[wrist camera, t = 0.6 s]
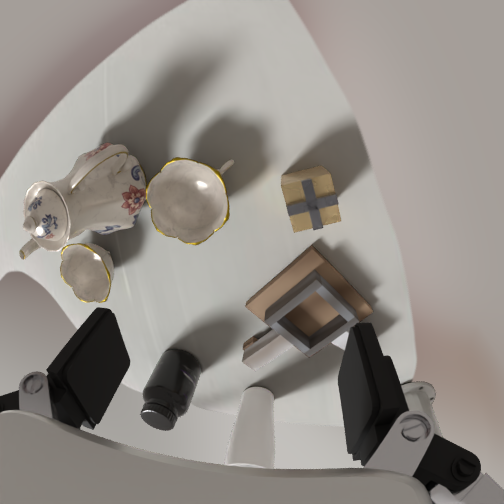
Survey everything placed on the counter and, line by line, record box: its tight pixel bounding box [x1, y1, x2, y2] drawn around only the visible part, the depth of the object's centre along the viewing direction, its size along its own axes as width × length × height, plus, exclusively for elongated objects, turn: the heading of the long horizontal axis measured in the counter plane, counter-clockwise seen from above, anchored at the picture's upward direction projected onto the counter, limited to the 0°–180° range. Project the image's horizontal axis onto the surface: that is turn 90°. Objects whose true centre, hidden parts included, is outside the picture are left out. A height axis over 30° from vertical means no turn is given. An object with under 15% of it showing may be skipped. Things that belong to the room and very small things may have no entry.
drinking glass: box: [224, 387, 275, 469], centre depth 37 cm, size 7×7×15 cm
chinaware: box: [19, 143, 234, 303], centre depth 27 cm, size 28×17×17 cm, turn 127°
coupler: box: [281, 166, 341, 233], centre depth 28 cm, size 4×4×7 cm
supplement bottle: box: [140, 349, 201, 431], centre depth 38 cm, size 7×7×12 cm
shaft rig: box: [242, 245, 373, 371], centre depth 36 cm, size 17×16×4 cm
